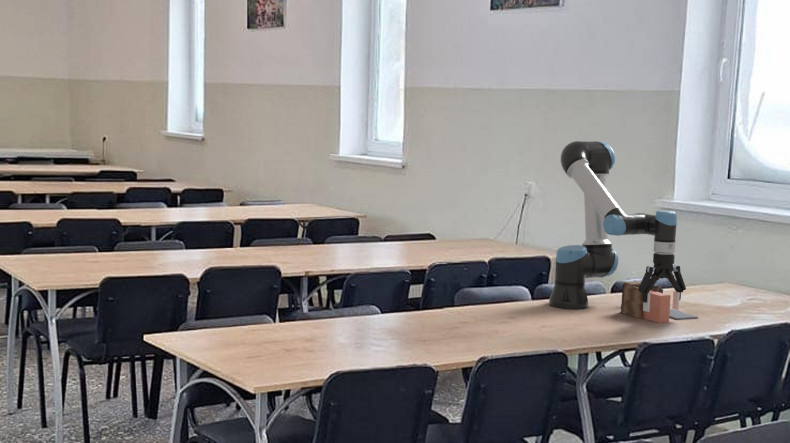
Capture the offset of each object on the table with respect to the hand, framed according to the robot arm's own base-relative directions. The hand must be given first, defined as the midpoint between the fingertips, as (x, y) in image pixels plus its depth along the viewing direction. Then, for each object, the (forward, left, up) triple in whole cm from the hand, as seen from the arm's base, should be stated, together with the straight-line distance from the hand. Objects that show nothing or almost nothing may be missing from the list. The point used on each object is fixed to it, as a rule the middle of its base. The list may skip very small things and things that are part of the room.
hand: (660, 310), depth 362 cm
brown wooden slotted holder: (-12, 0, -4) cm, 13 cm away
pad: (-7, +13, -4) cm, 15 cm away
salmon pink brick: (-4, 0, -4) cm, 6 cm away
